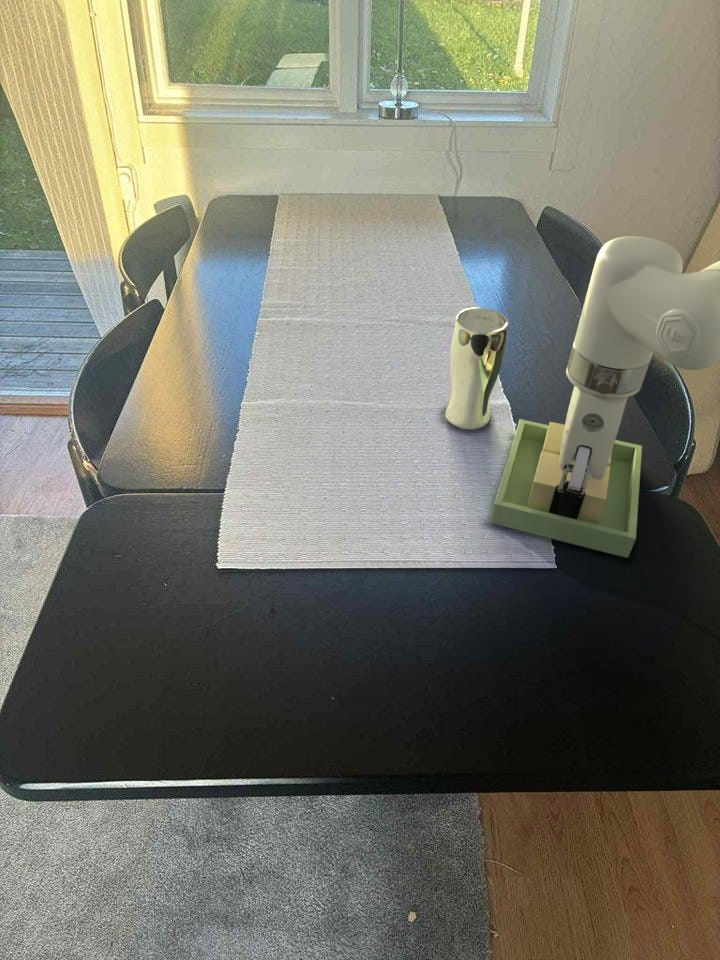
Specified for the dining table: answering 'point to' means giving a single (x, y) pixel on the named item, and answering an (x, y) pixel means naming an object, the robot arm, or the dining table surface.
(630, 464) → the tray
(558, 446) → the pale yellow block
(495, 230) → the dining table surface
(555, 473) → the tan rectangular block
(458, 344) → the beer glass
